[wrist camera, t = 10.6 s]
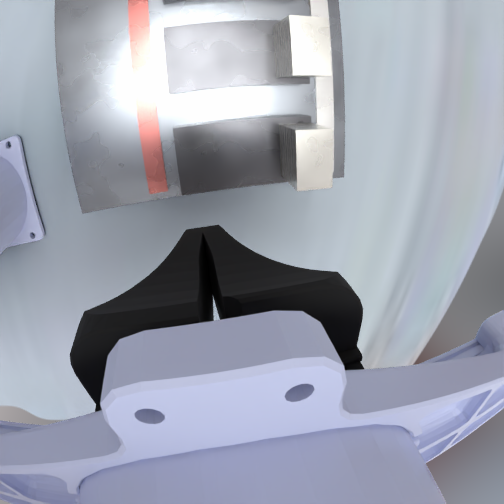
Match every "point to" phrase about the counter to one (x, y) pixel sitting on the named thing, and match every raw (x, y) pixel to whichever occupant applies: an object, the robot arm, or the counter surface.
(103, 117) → the panel
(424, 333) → the counter surface
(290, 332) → the robot arm
